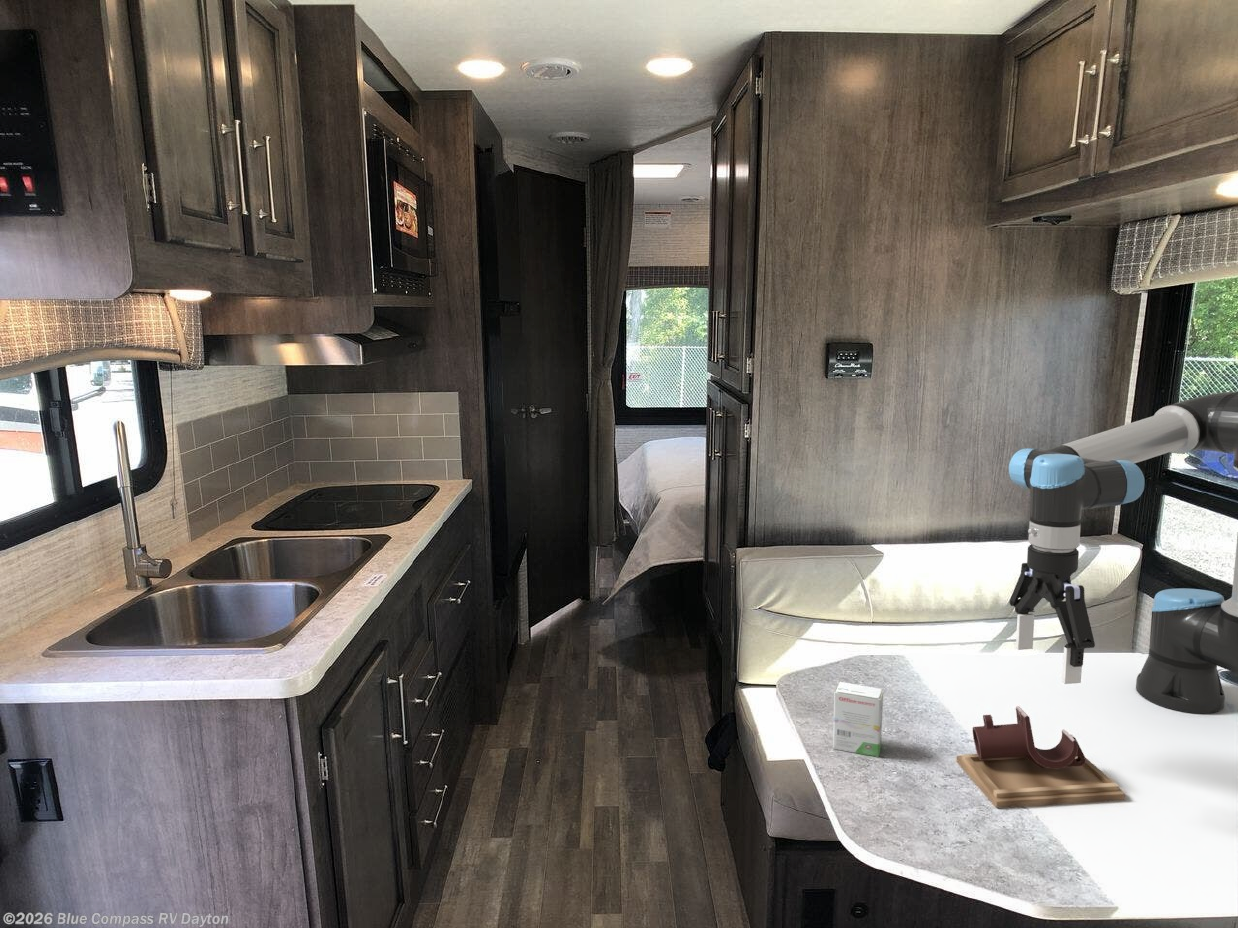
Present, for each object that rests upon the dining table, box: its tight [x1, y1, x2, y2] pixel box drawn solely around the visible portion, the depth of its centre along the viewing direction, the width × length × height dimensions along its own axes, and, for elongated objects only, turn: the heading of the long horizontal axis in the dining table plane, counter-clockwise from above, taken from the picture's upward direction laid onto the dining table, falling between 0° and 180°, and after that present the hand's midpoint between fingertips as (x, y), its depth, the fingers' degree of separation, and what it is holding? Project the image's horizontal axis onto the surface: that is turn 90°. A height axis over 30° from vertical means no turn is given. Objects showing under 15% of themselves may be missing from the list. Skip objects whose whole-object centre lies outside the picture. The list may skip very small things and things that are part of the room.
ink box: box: [832, 681, 884, 758], centre depth 148 cm, size 9×5×12 cm, turn 65°
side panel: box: [956, 753, 1126, 809], centre depth 136 cm, size 22×14×2 cm, turn 93°
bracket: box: [972, 705, 1087, 769], centre depth 138 cm, size 6×17×10 cm, turn 76°
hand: (1046, 664), depth 134 cm, fingers open, 13 cm apart
